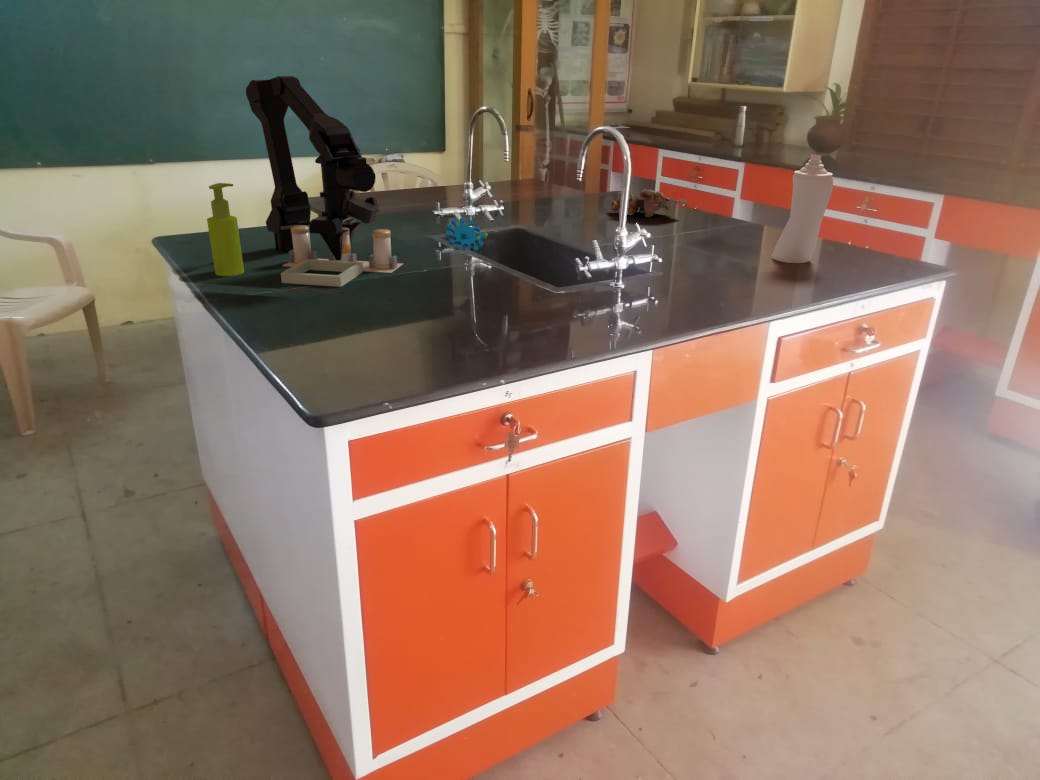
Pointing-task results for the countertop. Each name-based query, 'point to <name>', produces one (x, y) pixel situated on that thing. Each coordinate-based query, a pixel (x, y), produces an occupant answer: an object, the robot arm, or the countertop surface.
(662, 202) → the mineral formation
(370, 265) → the fuse holder
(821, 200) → the curved beige bottle
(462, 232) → the gear
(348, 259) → the fuse marked
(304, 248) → the fuse left
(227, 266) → the soap dispenser
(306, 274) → the tray
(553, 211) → the countertop surface
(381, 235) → the fuse right
